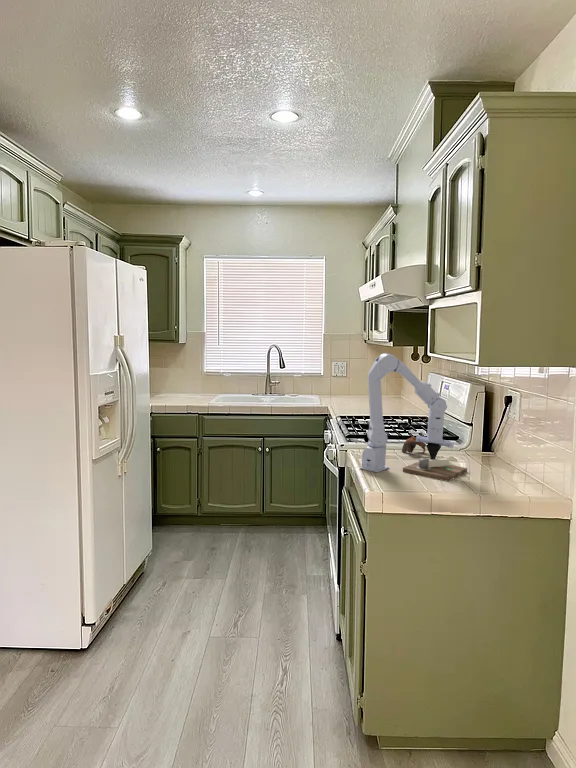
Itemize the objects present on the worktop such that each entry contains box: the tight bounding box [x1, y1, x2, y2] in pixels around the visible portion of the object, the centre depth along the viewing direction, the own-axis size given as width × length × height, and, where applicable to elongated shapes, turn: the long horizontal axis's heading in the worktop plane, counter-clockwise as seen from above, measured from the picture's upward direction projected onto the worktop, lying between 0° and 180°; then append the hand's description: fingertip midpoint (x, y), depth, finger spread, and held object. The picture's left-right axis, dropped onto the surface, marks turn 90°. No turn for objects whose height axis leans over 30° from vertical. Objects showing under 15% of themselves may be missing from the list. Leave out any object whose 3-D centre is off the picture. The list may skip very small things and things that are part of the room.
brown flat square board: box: [402, 461, 468, 482], centre depth 216 cm, size 18×18×2 cm
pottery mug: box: [401, 435, 427, 455], centre depth 246 cm, size 12×10×8 cm
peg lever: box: [418, 457, 450, 468], centre depth 217 cm, size 13×4×3 cm, turn 115°
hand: (432, 462), depth 219 cm, fingers closed, pressing on peg lever
